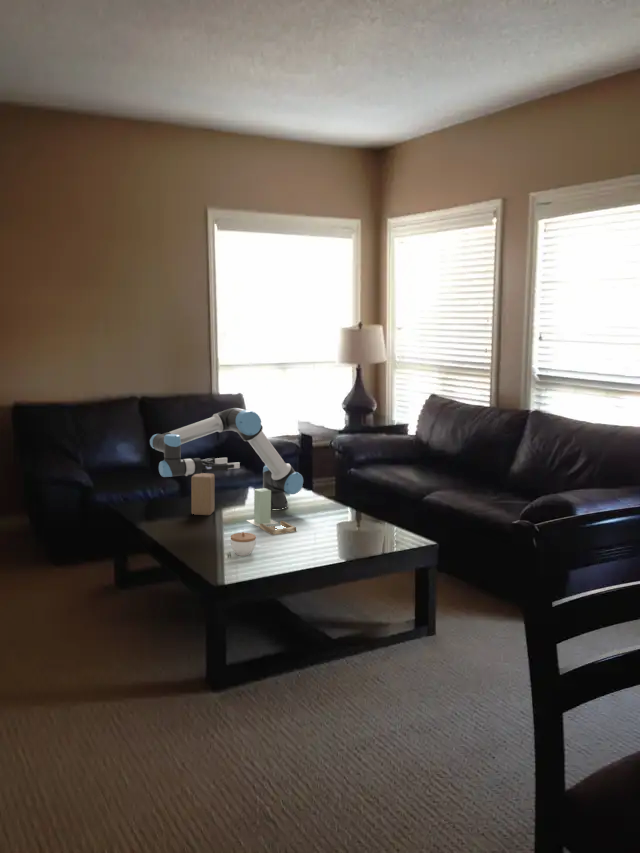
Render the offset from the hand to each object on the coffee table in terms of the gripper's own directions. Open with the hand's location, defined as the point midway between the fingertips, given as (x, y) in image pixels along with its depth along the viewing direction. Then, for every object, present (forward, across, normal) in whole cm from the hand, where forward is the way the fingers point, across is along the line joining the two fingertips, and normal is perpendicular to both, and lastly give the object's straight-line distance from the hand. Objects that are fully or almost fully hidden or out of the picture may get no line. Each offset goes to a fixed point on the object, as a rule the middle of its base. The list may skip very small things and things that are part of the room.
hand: (233, 462), depth 362 cm
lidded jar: (-17, +46, -30) cm, 58 cm away
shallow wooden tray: (+13, +22, -30) cm, 39 cm away
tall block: (+13, +7, -29) cm, 33 cm away
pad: (+13, +7, -30) cm, 33 cm away
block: (-5, -24, -30) cm, 39 cm away
